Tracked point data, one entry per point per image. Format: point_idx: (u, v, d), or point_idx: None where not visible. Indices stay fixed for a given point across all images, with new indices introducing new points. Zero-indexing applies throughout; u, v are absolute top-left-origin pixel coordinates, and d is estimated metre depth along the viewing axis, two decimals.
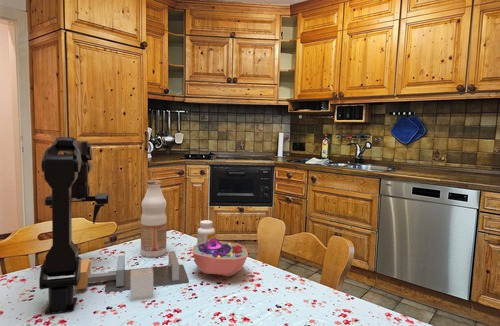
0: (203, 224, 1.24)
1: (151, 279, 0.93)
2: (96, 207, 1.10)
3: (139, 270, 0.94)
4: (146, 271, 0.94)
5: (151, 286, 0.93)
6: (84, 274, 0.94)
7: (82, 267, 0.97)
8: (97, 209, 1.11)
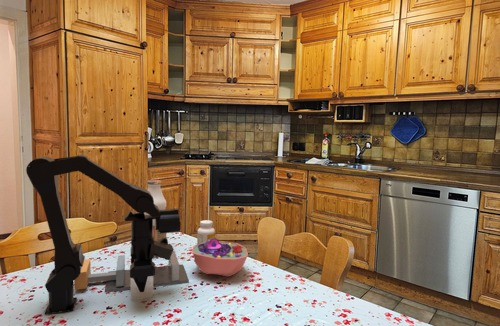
0: (203, 224, 1.24)
1: (151, 279, 0.93)
2: None
3: None
4: None
5: (151, 286, 0.93)
6: (84, 274, 0.94)
7: (82, 267, 0.97)
8: None
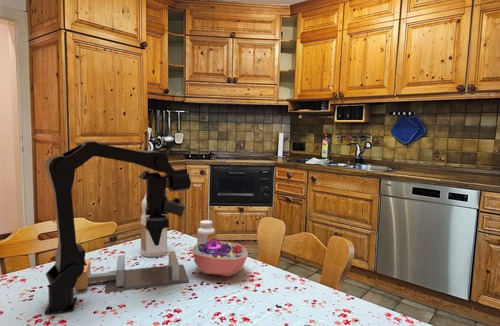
0: (203, 224, 1.24)
1: (165, 234, 1.00)
2: None
3: None
4: None
5: (165, 240, 1.00)
6: (84, 274, 0.94)
7: None
8: (148, 229, 0.97)
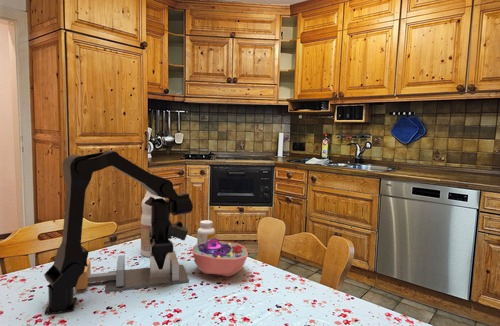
0: (203, 224, 1.24)
1: (168, 260, 1.05)
2: None
3: None
4: None
5: (168, 266, 1.05)
6: (84, 274, 0.94)
7: None
8: None
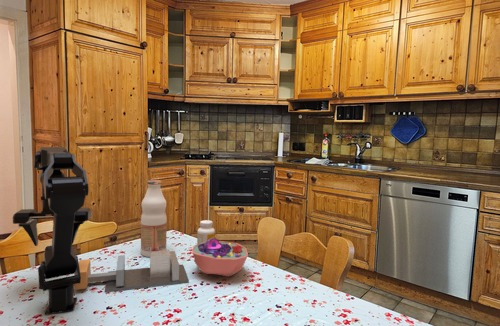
0: (203, 224, 1.24)
1: (168, 260, 1.05)
2: (74, 225, 0.94)
3: (157, 252, 1.06)
4: (164, 252, 1.06)
5: (168, 266, 1.05)
6: (84, 274, 0.94)
7: (82, 267, 0.97)
8: (75, 227, 0.94)
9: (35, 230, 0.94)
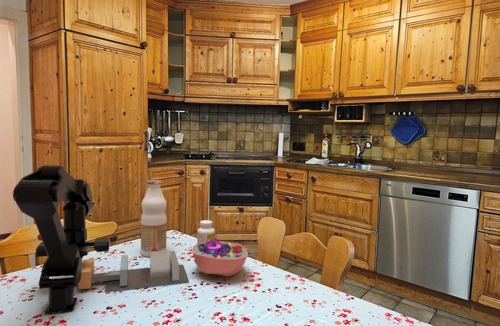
0: (203, 224, 1.24)
1: (168, 260, 1.05)
2: None
3: (157, 252, 1.06)
4: (164, 252, 1.06)
5: (168, 266, 1.05)
6: (88, 274, 0.95)
7: (86, 267, 0.97)
8: None
9: None
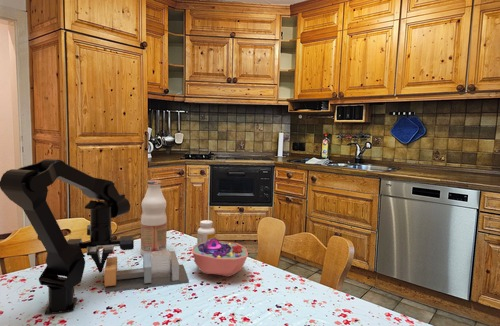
0: (203, 224, 1.24)
1: (168, 260, 1.05)
2: (104, 255, 0.98)
3: (158, 252, 1.06)
4: (164, 252, 1.06)
5: (168, 266, 1.05)
6: (114, 271, 0.97)
7: (111, 265, 1.00)
8: (105, 257, 0.98)
9: (99, 258, 1.00)
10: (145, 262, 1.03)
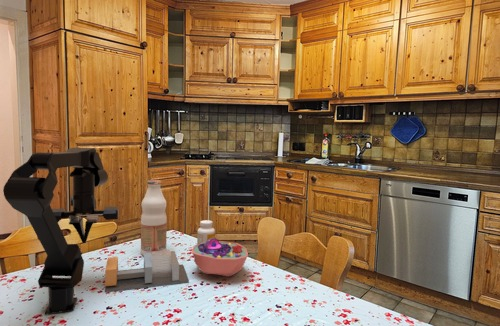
0: (203, 224, 1.24)
1: (169, 260, 1.05)
2: (88, 224, 0.95)
3: (158, 252, 1.06)
4: (165, 252, 1.06)
5: (169, 266, 1.05)
6: (114, 271, 0.97)
7: (112, 265, 1.00)
8: (89, 226, 0.96)
9: (83, 228, 0.98)
10: (146, 262, 1.03)
